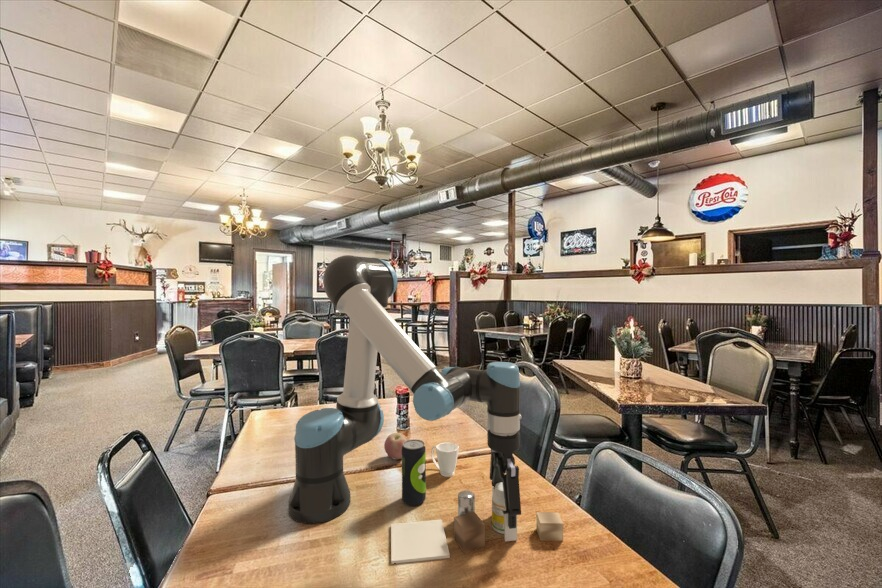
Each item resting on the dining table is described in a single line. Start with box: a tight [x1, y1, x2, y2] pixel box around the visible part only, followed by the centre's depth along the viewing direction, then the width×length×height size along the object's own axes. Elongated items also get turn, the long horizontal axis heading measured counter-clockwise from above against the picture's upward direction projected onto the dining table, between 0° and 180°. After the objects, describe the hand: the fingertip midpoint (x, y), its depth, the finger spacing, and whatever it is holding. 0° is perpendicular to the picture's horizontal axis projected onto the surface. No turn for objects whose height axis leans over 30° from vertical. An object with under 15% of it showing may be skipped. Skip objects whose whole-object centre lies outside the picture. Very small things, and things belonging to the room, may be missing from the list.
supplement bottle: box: [491, 482, 506, 535], centre depth 87 cm, size 5×5×10 cm
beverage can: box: [401, 438, 427, 507], centre depth 98 cm, size 6×6×15 cm
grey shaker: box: [457, 490, 476, 516], centre depth 90 cm, size 4×4×6 cm
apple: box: [383, 432, 409, 460], centre depth 122 cm, size 8×8×8 cm
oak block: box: [535, 511, 564, 542], centre depth 84 cm, size 5×4×4 cm
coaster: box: [390, 519, 451, 565], centre depth 82 cm, size 12×12×1 cm
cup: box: [430, 441, 460, 478], centre depth 113 cm, size 7×10×8 cm
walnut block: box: [453, 511, 486, 554], centre depth 82 cm, size 5×5×5 cm
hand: (504, 526), depth 87 cm, fingers open, 9 cm apart
